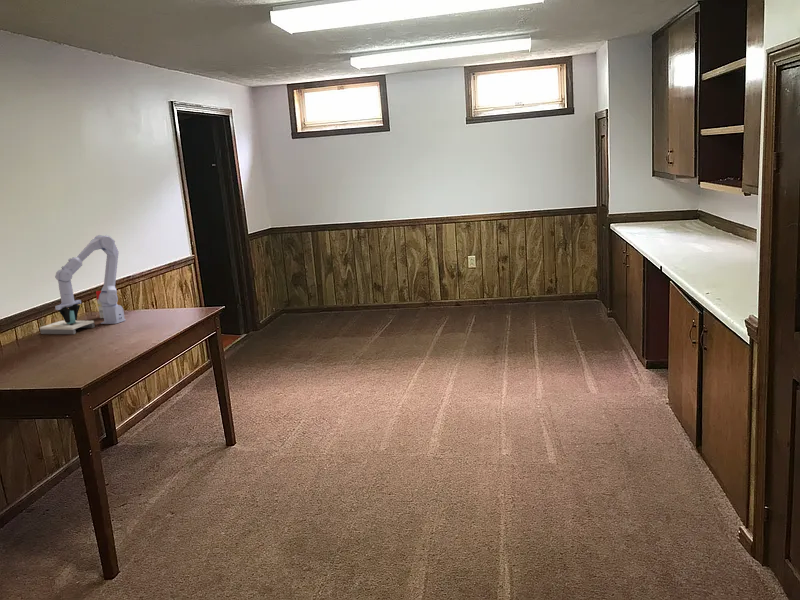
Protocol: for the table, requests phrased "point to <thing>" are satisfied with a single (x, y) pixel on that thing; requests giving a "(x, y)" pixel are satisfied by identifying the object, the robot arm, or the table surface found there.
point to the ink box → (99, 304)
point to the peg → (72, 318)
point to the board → (65, 327)
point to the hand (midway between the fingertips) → (71, 321)
